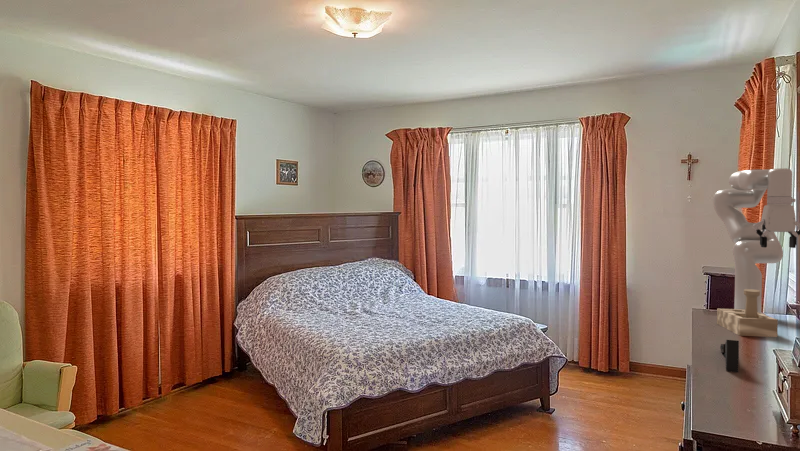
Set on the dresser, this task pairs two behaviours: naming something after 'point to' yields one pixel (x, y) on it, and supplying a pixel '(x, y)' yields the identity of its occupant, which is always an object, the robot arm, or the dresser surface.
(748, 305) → the handle
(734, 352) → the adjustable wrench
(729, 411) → the dresser surface
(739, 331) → the socket block
